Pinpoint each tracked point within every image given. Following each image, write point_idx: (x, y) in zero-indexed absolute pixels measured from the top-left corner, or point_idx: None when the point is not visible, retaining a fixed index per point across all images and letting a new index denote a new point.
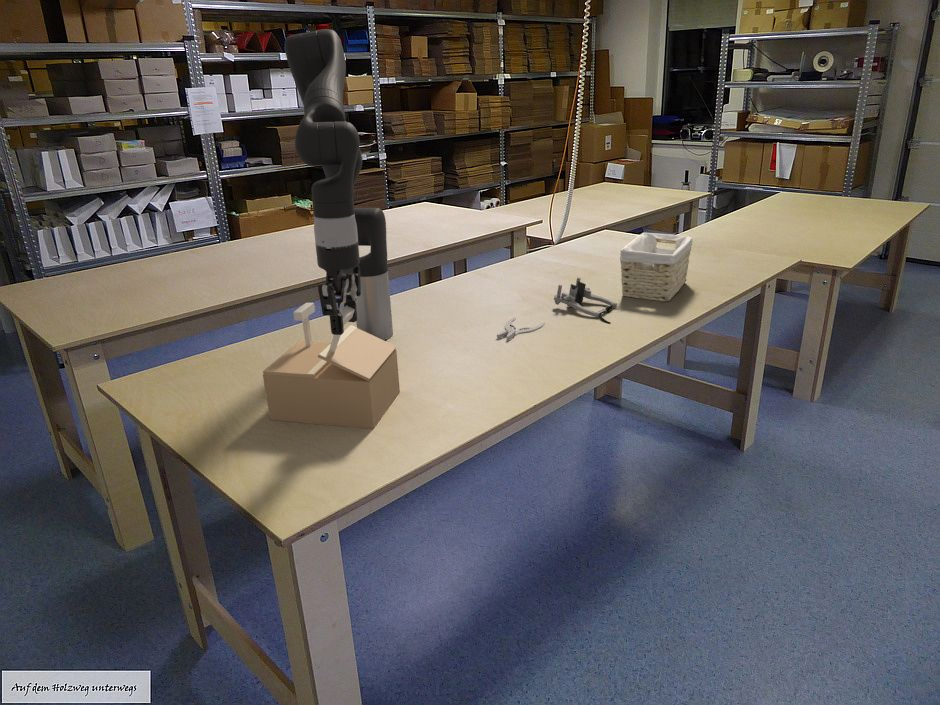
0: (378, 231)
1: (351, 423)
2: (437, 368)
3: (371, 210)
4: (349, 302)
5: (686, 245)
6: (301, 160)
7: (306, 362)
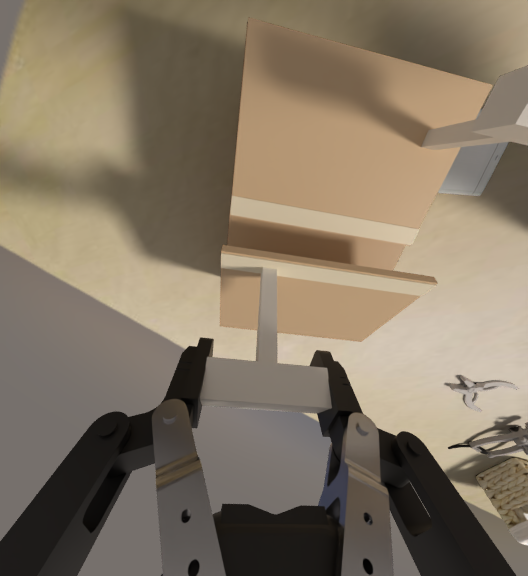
0: None
1: None
2: (395, 325)
3: None
4: (334, 429)
5: None
6: None
7: (306, 170)
